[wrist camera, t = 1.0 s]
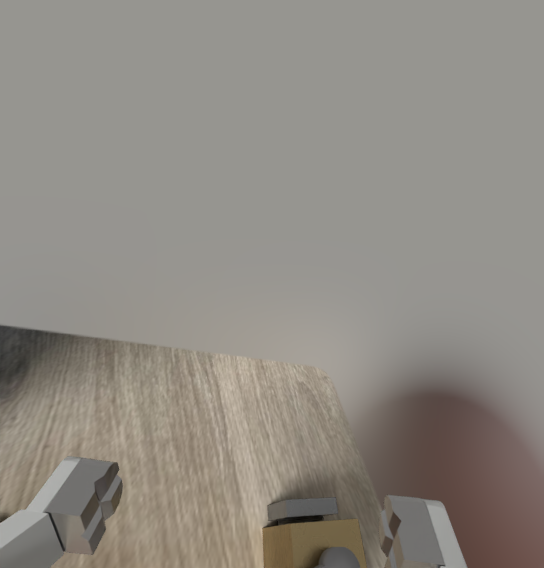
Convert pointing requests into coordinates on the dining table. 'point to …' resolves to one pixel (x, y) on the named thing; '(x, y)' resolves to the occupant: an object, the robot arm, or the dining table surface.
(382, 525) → the robot arm
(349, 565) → the lever
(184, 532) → the dining table surface
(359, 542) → the lever valve base
